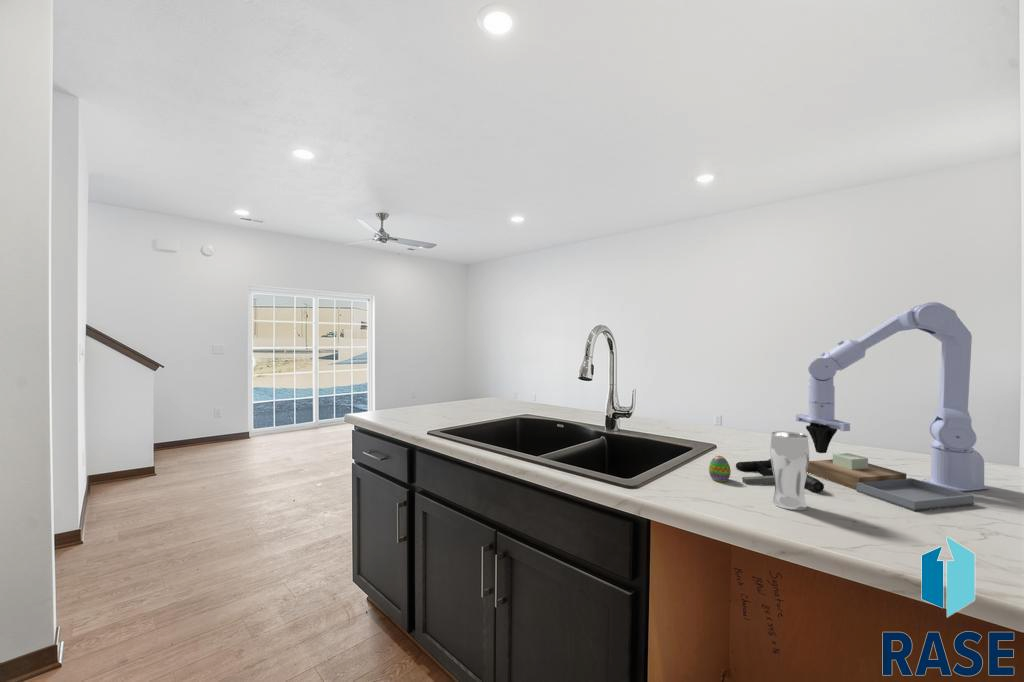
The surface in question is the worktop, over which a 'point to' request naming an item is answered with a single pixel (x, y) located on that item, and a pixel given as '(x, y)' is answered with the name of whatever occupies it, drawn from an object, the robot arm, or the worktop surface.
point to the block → (850, 461)
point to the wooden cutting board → (852, 473)
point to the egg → (719, 469)
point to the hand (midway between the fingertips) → (821, 452)
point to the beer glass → (789, 468)
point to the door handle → (768, 476)
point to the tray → (915, 494)
